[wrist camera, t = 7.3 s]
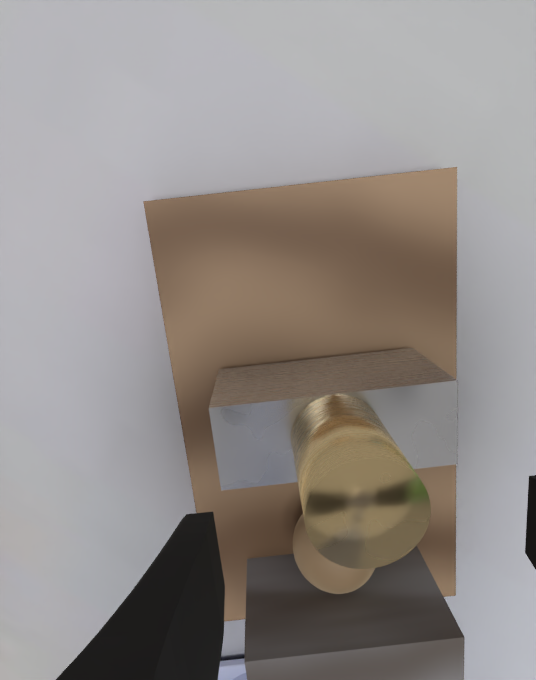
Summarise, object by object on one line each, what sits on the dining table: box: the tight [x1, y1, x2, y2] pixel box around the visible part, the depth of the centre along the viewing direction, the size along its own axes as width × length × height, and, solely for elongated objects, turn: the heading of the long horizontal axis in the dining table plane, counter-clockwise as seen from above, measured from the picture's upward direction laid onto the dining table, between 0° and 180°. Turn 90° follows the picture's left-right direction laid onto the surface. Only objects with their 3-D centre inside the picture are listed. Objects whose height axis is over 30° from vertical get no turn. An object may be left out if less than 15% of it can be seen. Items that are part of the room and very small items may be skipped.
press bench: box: [143, 167, 464, 680], centre depth 17 cm, size 20×12×6 cm, turn 6°
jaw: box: [209, 348, 458, 569], centre depth 14 cm, size 3×8×8 cm, turn 96°
